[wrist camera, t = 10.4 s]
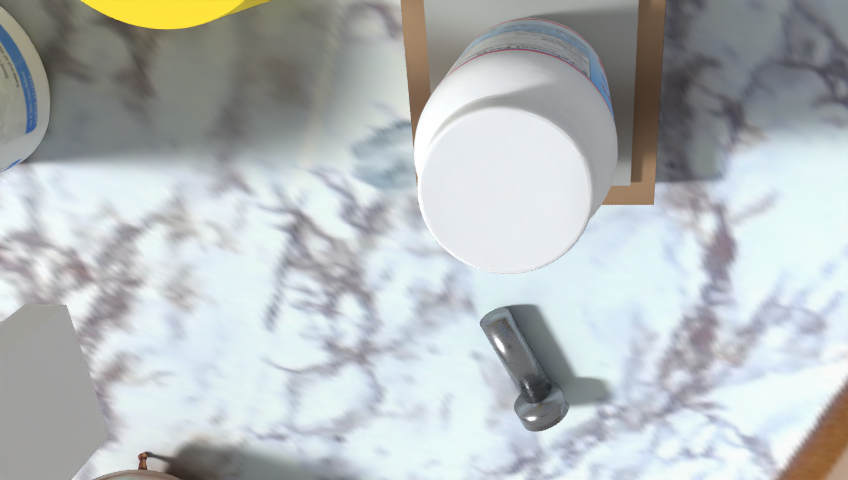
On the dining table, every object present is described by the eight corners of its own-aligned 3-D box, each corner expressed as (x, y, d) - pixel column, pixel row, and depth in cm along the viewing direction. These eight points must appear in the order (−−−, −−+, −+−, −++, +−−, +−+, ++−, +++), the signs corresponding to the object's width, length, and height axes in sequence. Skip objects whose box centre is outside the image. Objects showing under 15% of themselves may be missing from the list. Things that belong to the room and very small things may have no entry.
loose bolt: (473, 317, 37) (466, 345, 34) (519, 300, 36) (515, 328, 33) (524, 404, 38) (520, 436, 36) (569, 390, 37) (568, 422, 35)
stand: (410, -40, 30) (395, -35, 27) (661, -59, 28) (670, -54, 25) (428, 185, 34) (416, 208, 31) (648, 183, 32) (654, 208, 29)
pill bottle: (575, 184, 30) (575, 329, 20) (435, 138, 30) (365, 258, 20) (633, 40, 27) (667, 125, 17) (477, -8, 27) (421, 46, 17)
